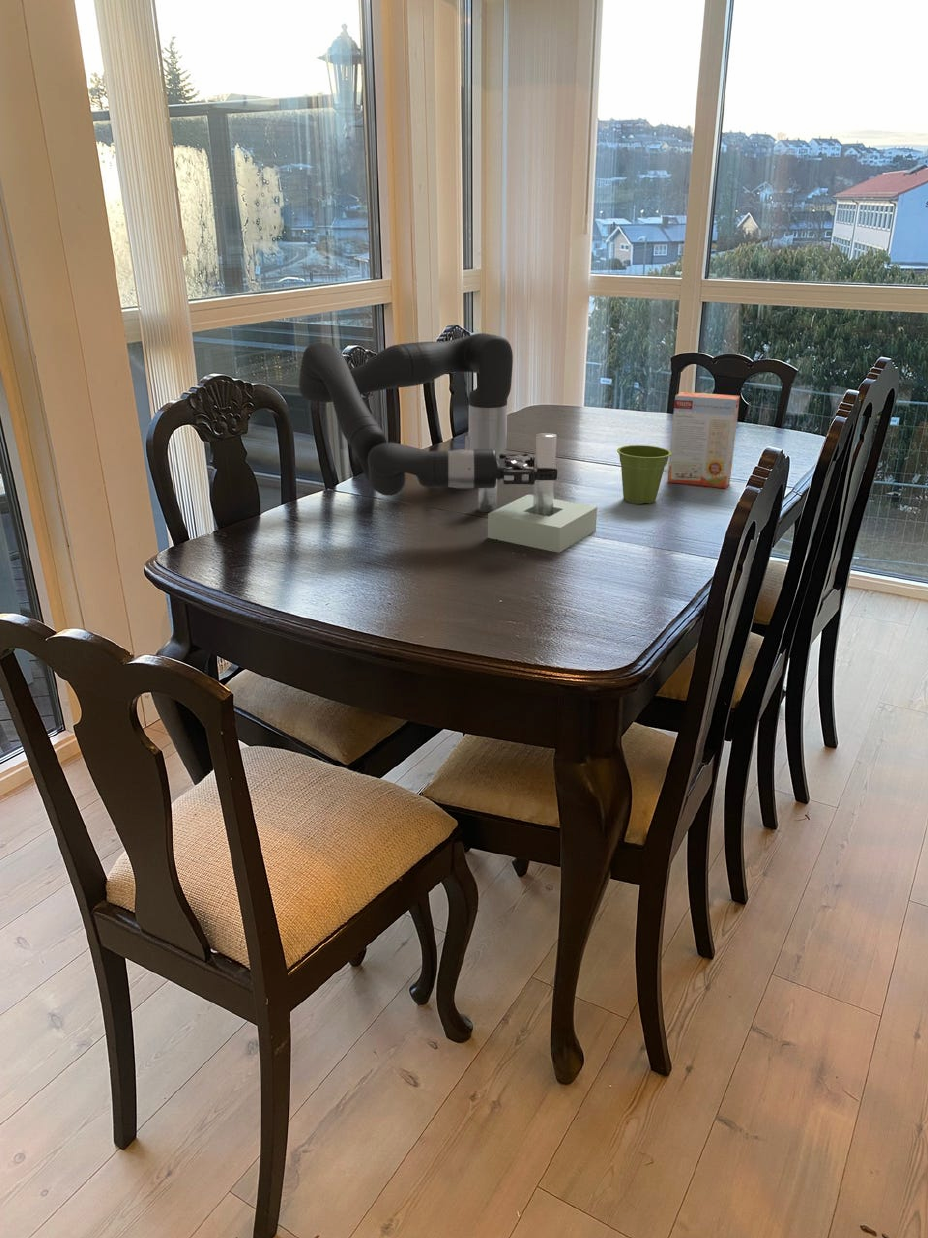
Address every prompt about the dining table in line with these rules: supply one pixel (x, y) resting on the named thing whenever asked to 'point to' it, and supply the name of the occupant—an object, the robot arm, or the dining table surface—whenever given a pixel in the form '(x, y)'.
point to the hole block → (542, 524)
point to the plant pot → (642, 471)
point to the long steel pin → (544, 488)
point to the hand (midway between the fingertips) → (554, 468)
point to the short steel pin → (487, 499)
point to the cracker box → (703, 439)
